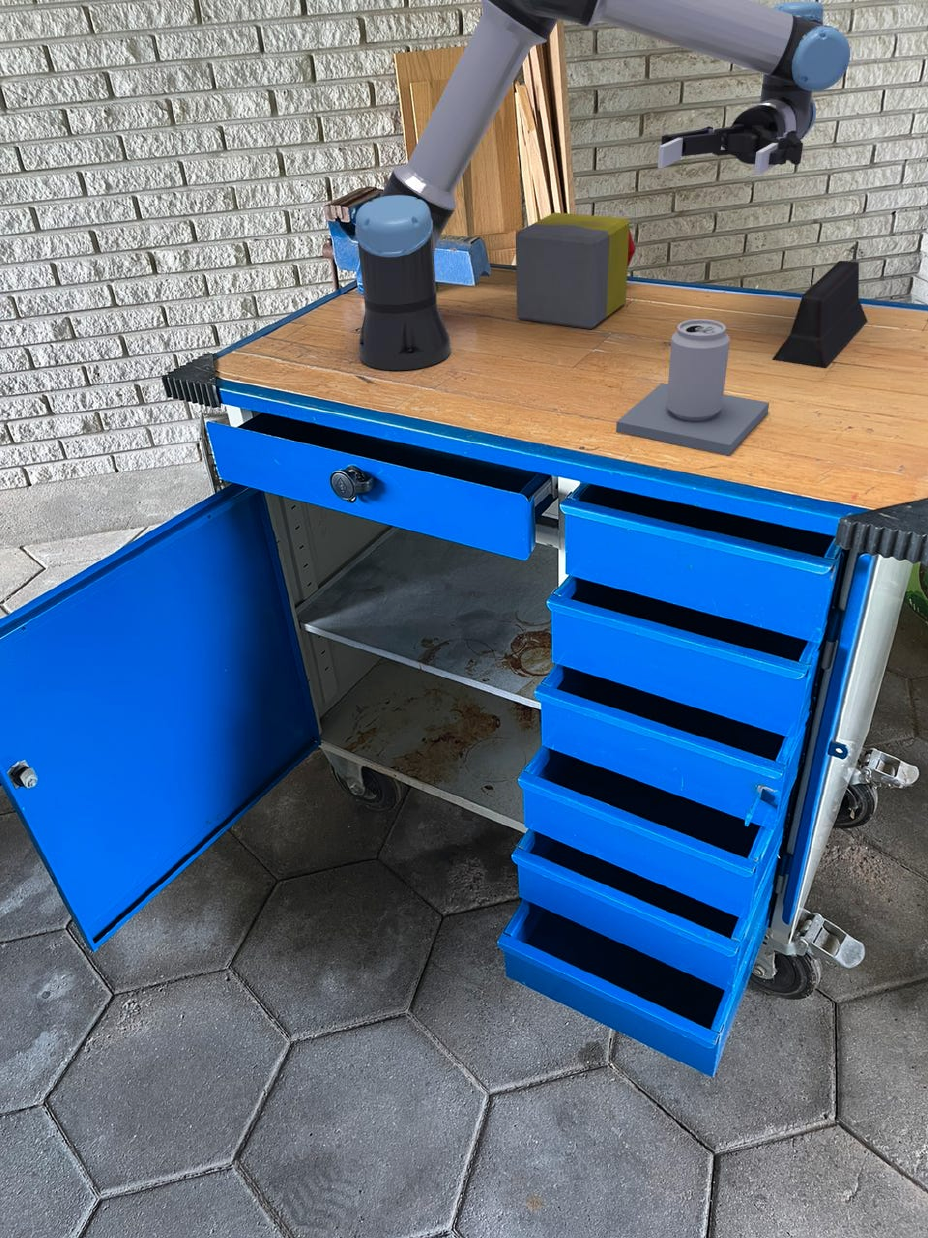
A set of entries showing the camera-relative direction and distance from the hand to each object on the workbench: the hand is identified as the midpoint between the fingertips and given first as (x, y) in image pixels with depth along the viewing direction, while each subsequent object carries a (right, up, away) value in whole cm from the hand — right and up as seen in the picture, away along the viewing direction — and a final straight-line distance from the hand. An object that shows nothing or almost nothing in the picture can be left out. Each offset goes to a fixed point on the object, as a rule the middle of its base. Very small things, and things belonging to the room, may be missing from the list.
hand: (708, 160), depth 129 cm
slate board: (-1, -34, +4) cm, 35 cm away
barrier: (+25, -17, +27) cm, 40 cm away
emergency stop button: (-11, -4, +47) cm, 48 cm away
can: (-1, -33, +3) cm, 33 cm away
